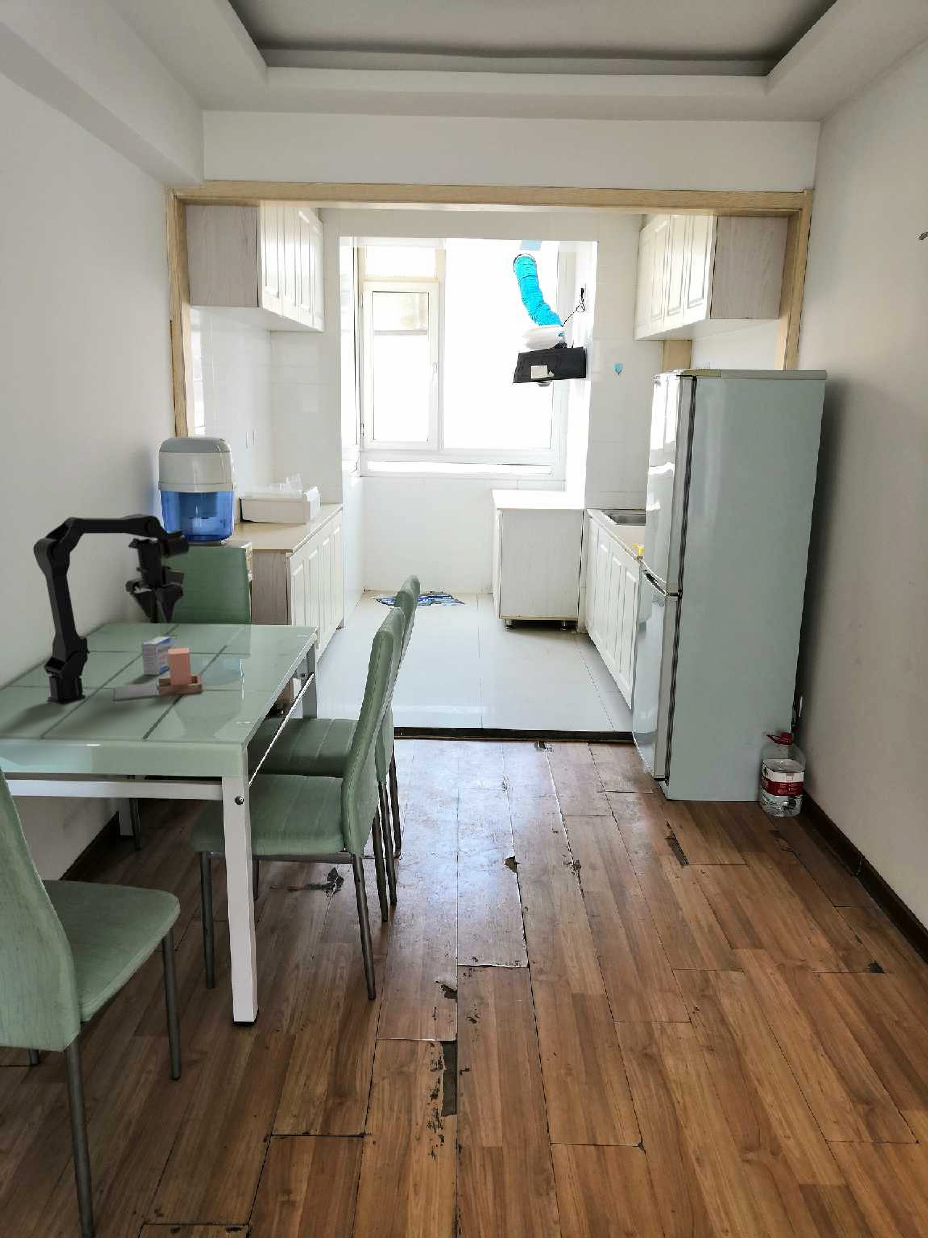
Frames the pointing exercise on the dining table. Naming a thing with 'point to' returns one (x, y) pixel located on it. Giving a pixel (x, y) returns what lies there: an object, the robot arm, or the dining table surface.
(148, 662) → the medicine box
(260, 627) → the dining table surface
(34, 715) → the dining table surface
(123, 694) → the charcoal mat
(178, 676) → the salmon orange rectangular block
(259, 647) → the dining table surface
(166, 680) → the frame
